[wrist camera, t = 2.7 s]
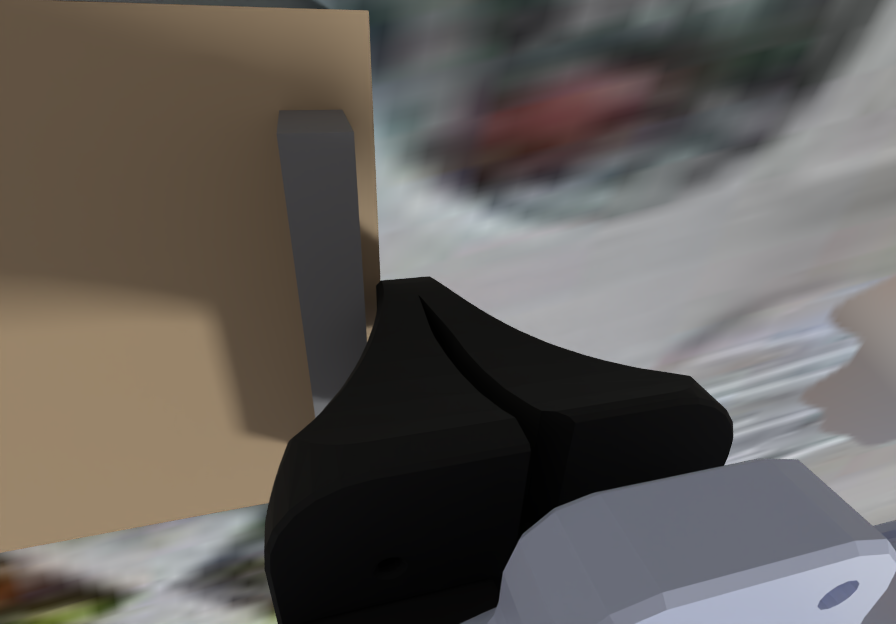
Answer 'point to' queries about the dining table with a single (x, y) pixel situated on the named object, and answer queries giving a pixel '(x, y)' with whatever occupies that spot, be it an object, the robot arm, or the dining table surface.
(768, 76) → the dining table surface
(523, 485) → the robot arm
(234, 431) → the lid
